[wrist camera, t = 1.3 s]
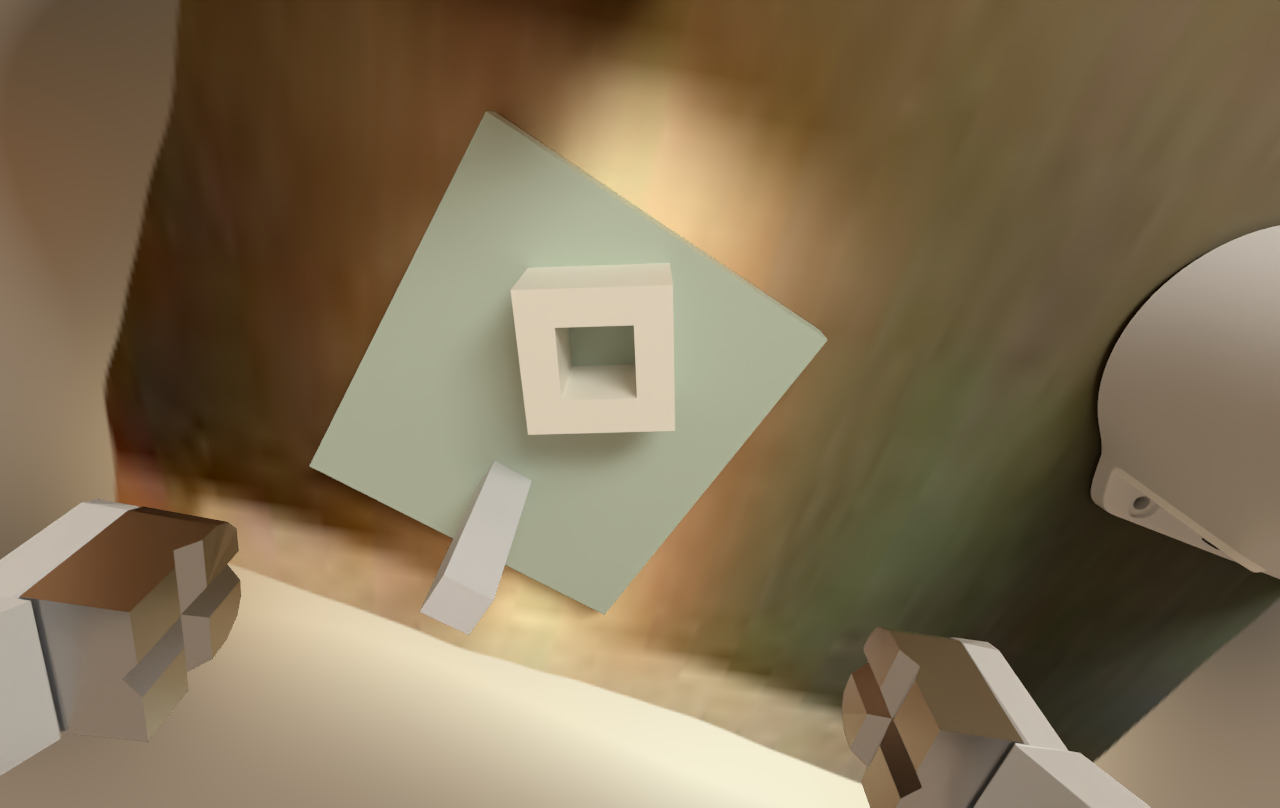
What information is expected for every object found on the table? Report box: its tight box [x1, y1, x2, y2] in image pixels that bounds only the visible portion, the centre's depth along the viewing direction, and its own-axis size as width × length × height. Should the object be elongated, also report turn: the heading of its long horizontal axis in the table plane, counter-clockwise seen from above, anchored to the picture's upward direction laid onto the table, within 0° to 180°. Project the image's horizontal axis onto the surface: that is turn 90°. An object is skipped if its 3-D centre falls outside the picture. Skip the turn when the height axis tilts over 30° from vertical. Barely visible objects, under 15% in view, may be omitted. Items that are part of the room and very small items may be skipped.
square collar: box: [510, 263, 675, 435], centre depth 28 cm, size 6×6×4 cm
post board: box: [310, 111, 827, 635], centre depth 28 cm, size 18×20×10 cm
